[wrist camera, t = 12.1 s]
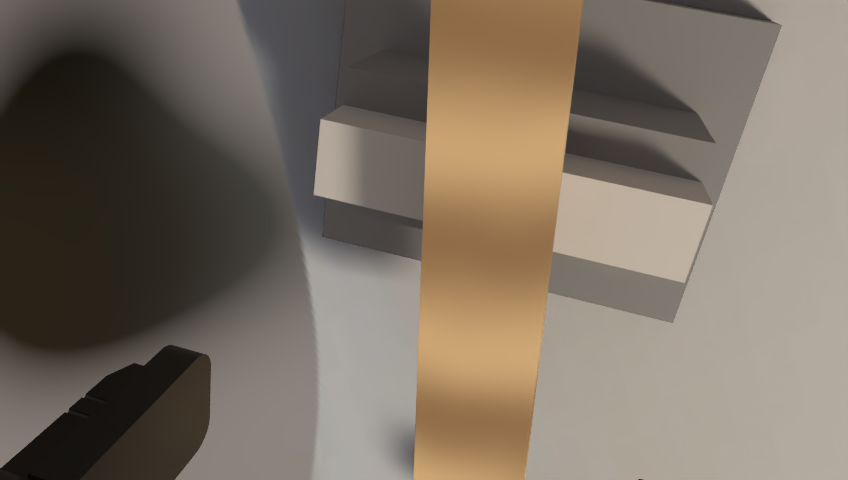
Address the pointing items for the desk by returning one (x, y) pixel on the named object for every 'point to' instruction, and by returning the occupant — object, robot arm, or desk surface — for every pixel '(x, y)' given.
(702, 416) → the desk surface
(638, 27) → the balance stand
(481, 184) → the oak bar
